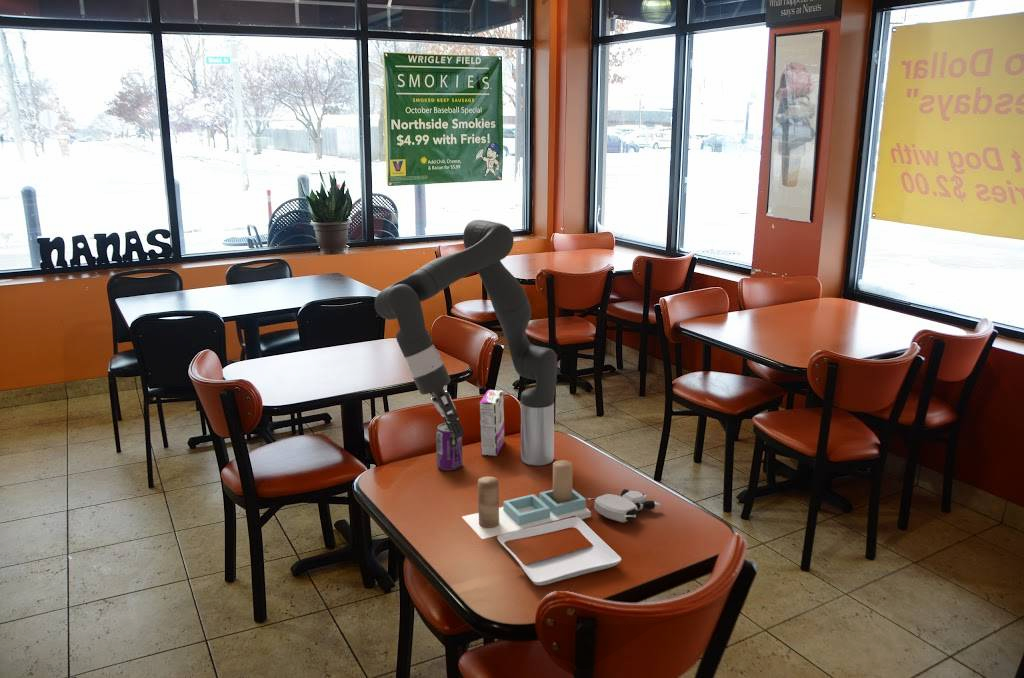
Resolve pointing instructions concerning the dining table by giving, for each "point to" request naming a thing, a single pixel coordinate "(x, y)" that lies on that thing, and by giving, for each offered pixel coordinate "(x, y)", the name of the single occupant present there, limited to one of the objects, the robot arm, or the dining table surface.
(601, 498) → the robot toy
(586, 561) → the salad plate
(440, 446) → the beverage can
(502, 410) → the candy bar box
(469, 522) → the base board
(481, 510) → the walnut column
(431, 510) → the dining table surface
